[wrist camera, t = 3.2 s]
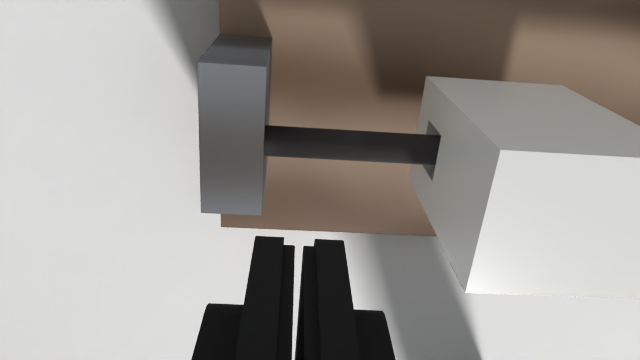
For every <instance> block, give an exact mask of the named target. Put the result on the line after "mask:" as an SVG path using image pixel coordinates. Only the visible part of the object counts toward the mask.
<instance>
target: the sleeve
mask: <svg viewBox="0 0 640 360" xmlns="http://www.w3.org/2000/svg"><path fill="white" fill-rule="evenodd" d="M416 134H425V135H441V140H440V145H439V150H438V155H437V160H436V165H422V164H411V168H410V174H409V180H410V182H411V184H412V187H413V189H414V191H415V193H416V195H417V197H418V199H419V201H420V203H421V205H422V207H423V209H424V211H425V213H426V215H427V217H428V219H429V221H430V223H431V225H432V227H433V229H434V231H435V233H436V235H437V237H438V239H439V241H440V243H441V245H442V247H443V249H444V251H445V253H446V255H447V257H448V259H449V262H450V264H451V266H452V268H453V270H454V272H455V274H456V276H457V278H458V280H459V282H460V284H461V286H462V288H463V290H464V292H465V293H477V294H507V295H536V296H566V297H596V298H625V299H640V126H639V125H637V124H635V123H633V122H631V121H629V120H627V119H625V118H624V117H622V116H620V115H618V114H616V113H614V112H612V111H610V110H608V109H606V108H604V107H603V106H601V105H599V104H597V103H595V102H593V101H591V100H589V99H587V98H585V97H584V96H582V95H580V94H578V93H576V92H574V91H572V90H570V89H568V88H566V87H565V86H563V85H551V84H536V83H521V82H507V81H492V80H477V79H462V78H448V77H433V76H426V80H425V86H424V91H423V97H422V103H421V109H420V115H419V121H418V127H417V133H416Z"/></svg>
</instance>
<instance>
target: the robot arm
mask: <svg viewBox="0 0 640 360" xmlns="http://www.w3.org/2000/svg"><path fill="white" fill-rule="evenodd" d="M294 253H295V246H294V245H284V237H266V236H256V237H255V242H254V248H253V253H252V259H251V265H250V271H249V277H248V283H247V289H246V295H245V301H244V305H234V304H211V303H209V304H208V305H207V307H206V309H205V313H204V316H203V320H202V323H201V327H200V331H199V334H198V338H197V342H196V345H195V349H194V353H193V356H192V360H292V325H293V289H294ZM295 360H395V356H394V352H393V347H392V343H391V339H390V334H389V330H388V326H387V321H386V317H385V314H384V313H383V311H373V310H354V309H353V302H352V295H351V288H350V281H349V274H348V267H347V260H346V253H345V246H344V241H343V240H324V239H315V242H314V246H304V247H303V259H302V272H301V285H300V299H299V312H298V325H297V338H296V352H295Z"/></svg>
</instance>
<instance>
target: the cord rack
mask: <svg viewBox="0 0 640 360" xmlns="http://www.w3.org/2000/svg"><path fill="white" fill-rule="evenodd" d="M197 68H198V109H199V150H200V192H201V213H217V214H221V227H234V228H257V229H281V230H304V231H328V232H351V233H375V234H398V235H422V236H437V235H436V233H435V231H434V229H433V227H432V225H431V223H430V221H429V219H428V217H427V215H426V213H425V211H424V209H423V207H422V205H421V203H420V201H419V199H418V197H417V195H416V193H415V191H414V189H413V187H412V184H411V182H410V180H409V174H410V168H411V164H422V165H436V160H437V155H438V150H439V145H440V140H441V135H425V134H416V133H417V127H418V121H419V115H420V109H421V103H422V97H423V91H424V86H425V80H426V76H433V77H448V78H462V79H477V80H492V81H507V82H521V83H536V84H551V85H563V86H565V87H566V88H568V89H570V90H572V91H574V92H576V93H578V94H580V95H582V96H584V97H585V98H587V99H589V100H591V101H593V102H595V103H597V104H599V105H601V106H603V107H604V108H606V109H608V110H610V111H612V112H614V113H616V114H618V115H620V116H622V117H624V118H625V119H627V120H629V121H631V122H633V123H635V124H637V125H639V126H640V0H220V35H219V36H218V37H217V39H216V40H215V41H214V42H213V44H212V45H211V46H210V47H209V48H208V50H207V51H206V52H205V53H204V55H203V56H202V57H201V58H200V60H199V61H198V62H197Z"/></svg>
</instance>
